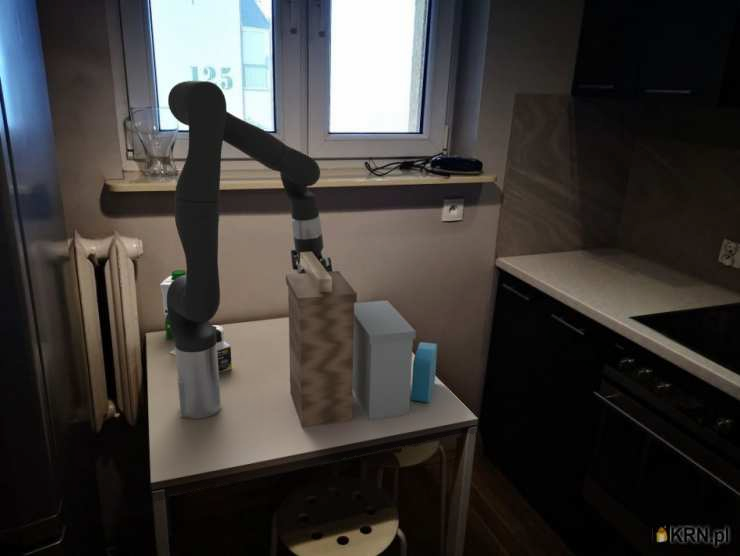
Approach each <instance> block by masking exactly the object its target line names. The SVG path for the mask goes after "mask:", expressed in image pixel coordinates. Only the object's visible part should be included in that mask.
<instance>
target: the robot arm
mask: <svg viewBox="0 0 740 556" xmlns="http://www.w3.org/2000/svg"><path fill="white" fill-rule="evenodd" d="M167 101H168V102H167V103H168V109H169V111H170V113H171V114H172V116H173V117H174V118H175V120H177V121H178V122H179V123H181V124H183V125H185V126H188V149H187V156H186V159H185V162H184V165H183V167H182V169H181V172H180V174H179V177H178V179H177V182H176V185H175V192H174V220H175V227H176V230H177V234H178V238H179V240H180V243H181V247H182V249H183V253H184V257H185V263H186V265H185V266H186V270H185V271H186V275H183V276H180V277H178V278H176V279H175V280H174V281H173V282H172V283H171V284H170V286H169V288H168V292H167V310H168V317H169V324H170V330H171V334H172V336H173V338H174V339H173V340H174V345H175V346H174V347H175V348H174V349H176V355H175V356H176V366H177V367H176V368H177V385H178V389H177V390H178V397H179V399H178V400H179V409H180V417H181V418H188V419H195V420H196V419H197V420H199V419H205V418H208V417H212V416H214V415H215V414H216V413H218V412H219V411H221V406H222V404H221V400H222V399H221V388H220V387H221V386H220V372H219V371H218V356H217V340H216V332H215V330H214V328H213V327H212V326H211V325H212V324H211V323H210V321H211V320H212V319H213V318H214V317H215V316H216V314H217V311H218V310H219V306H220V302H221V289H220V287H221V286H220V285H221V284H220V276H219V275H220V274H219V260H218V259H219V258H218V257H219V223H220V206H221V205H220V203H221V202H220V200H221V191H220V189H221V188H220V187H221V186H220V185H221V168H222V166H221V164H222V163H221V162H222V150H223V149H222V148H223V142H225V143H227V144H229V145H230V146H232V147H234V148H236V149H237V150H239V151H240V152H241V153H243V154H245V155H247V156H248V157H250V158H251V159H253V160H254V161H256V162H258V163H259V164H261V165H263V166H264V167H266V168H267V169H270V170H272V171H275V172H278V173H279V174H280V179H281V180H280V181H281V183H282V186H283V188H284V191H285V193H286V194H285V195H286V196H287V198H288V201H289V205H290V213H291V224H292V225H291V227H292V228H291V229H292V234H293V243H294V248H293V249H291V251H290V254H291V255H290V256H291V257H290V258H291V265H292V266H291V267H292V269H293V270H294V271H296V272H297V273H296V274H302V273H306V272H305V270H304V269H303V267H302V265H301V264H300V252H313V254H314V255H315V256H316V258H317V259H318V260H319V262H320V263H321V264H322V266H323V267H324V269H325V270H326V271H327V272H332V271H333V266H332V261H331V257H329V256H328V257H323V255H322V251H323V249H324V240H323V239H324V238H323V231H322V222H321V218H320V211H319V204H318V198H317V196H316V195H315V194H314V193H313V192H311V190H310V189H308V187H311V186H314V185H315V184H317V183H318V181H319V179H320V178H321V169H320V166H319V164H318V163H317V162H316V160H315V159H314V158H312V157H310V156H309V155H307V154H305V153H303V152H302V151H299V150H297V149H295V148H293V147H290V146H289V145H287V144H285V142H283V141H282V140H280V139H278V138H277V137H276V136H274V135H273V134H271V133H270V132H267V130H265V129H264V128H263V129H262V128H260V127H259V126H257V125H254V124H253V123H249V122H248V121H245V120H243V119H241V118H239V117H237V116H235V115H234V114H232V113H230V112H228V111H227V100H226V97H225V94H224V92H223V90H222V89H221V88H220V87H219V85H217V84H216V83H214V82H211V81H208V80H205V81H204V80H184V81H181V82H178V83H177V84H174V86H172V88H171V90H170V91H169V93H168V98H167Z"/></svg>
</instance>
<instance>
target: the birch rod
mask: <svg viewBox="0 0 740 556" xmlns="http://www.w3.org/2000/svg"><path fill="white" fill-rule="evenodd" d="M300 264H301V265H302V267H303V269H304V270H305V272H306V273H307V275H308V277H309V278H310V280H311V281H312V283H313V284H314V286H315V288H316V289H317V291H318V292H332V278H331V277H330V275H329V274H328V273H327V271H326V270H325V269H324V267H323V266H322V264H321V263H320V262H319V260H318V259H317V258H316V256H315V255H314V254H313V252H300Z"/></svg>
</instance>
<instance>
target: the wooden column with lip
mask: <svg viewBox="0 0 740 556" xmlns="http://www.w3.org/2000/svg"><path fill="white" fill-rule="evenodd" d="M327 273H328V274H329V275H330V277H331V278H332V292H318V291H317V289H316V288H315V286H314V284H313V283H312V281H311V280H310V278H309V277H308V275H307V273H302V274H298V273H291V274H288V273H287V274H285V284H286V286H287V287H288V288H287V292H288V293H287V294H288V296H287V297H288V336H289V337H288V338H289V339H288V340H289V343H288V346H289V350H288V351H289V384H290V385H289V386H290V388H289V390H290V391H289V394H290V396H291V400H292V402H293V406H294V408H295V411H296V414H297V417H298V421H299V423H300V427H301V428H308V427H315V426H322V425H329V424H335V423H336V424H337V423H342V422H350V421H353V339H354V303H358V302H357V301H358V300H357V299H358V293H357V292H356V291H355V290H354V287H352V285H350V283H349V282H348V280H347V279H346V278H345V277H344V276H343V275H342V273H341V272H340V271H339V270H334V271H333V270H332V272H327Z"/></svg>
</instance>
